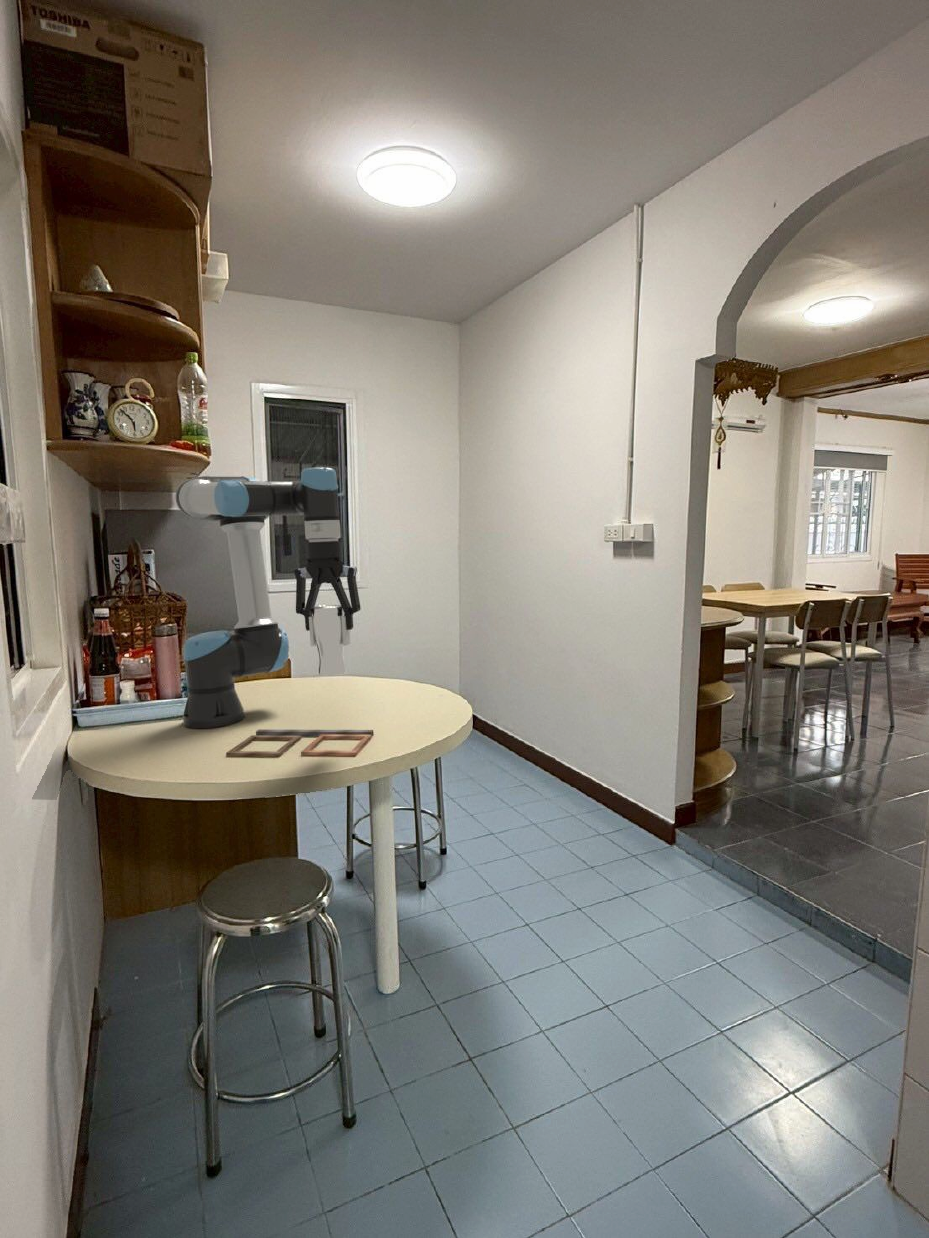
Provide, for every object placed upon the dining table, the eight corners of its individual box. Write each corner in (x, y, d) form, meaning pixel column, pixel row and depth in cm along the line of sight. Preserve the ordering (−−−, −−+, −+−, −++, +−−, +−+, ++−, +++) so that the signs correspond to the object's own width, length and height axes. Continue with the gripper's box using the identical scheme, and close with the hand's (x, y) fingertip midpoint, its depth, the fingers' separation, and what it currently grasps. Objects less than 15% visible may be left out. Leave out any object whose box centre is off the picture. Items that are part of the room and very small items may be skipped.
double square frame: (226, 756, 145) (225, 751, 145) (258, 734, 161) (257, 729, 161) (354, 757, 141) (353, 752, 141) (374, 734, 157) (374, 729, 156)
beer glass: (333, 668, 151) (328, 604, 149) (354, 671, 147) (350, 605, 145) (309, 674, 146) (305, 607, 144) (331, 677, 142) (326, 609, 140)
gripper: (273, 542, 140) (281, 648, 144) (362, 539, 138) (368, 647, 141) (287, 542, 148) (295, 642, 151) (372, 538, 145) (378, 641, 148)
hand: (330, 644), depth 146 cm, fingers closed on beer glass, 7 cm apart
